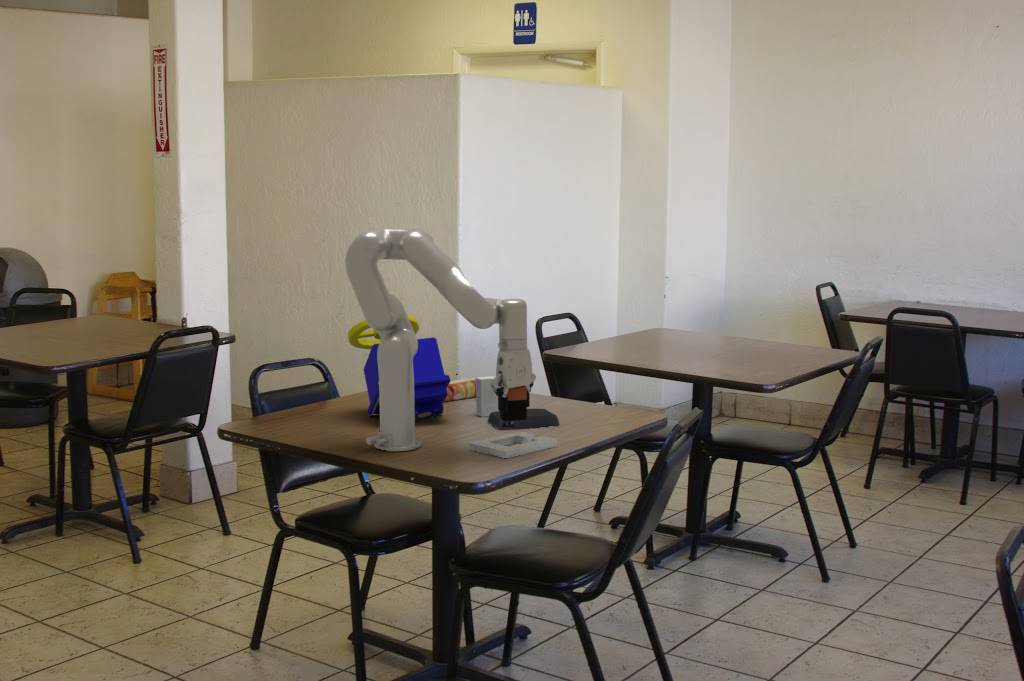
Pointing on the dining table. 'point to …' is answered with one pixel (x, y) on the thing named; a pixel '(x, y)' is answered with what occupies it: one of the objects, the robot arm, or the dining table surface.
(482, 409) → the skincare box
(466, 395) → the snack package
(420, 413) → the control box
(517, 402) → the battery
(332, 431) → the dining table surface
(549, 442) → the plate
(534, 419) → the external hard drive
